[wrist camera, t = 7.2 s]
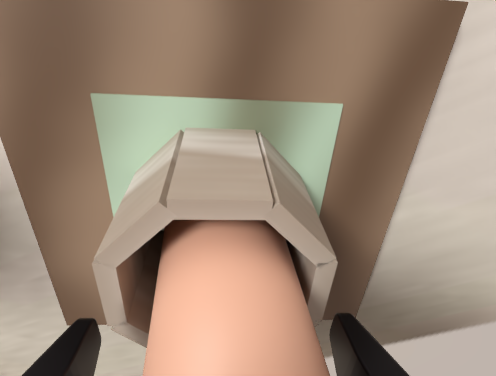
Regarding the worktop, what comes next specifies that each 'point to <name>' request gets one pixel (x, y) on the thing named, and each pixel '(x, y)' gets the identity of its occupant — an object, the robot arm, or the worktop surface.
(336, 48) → the tube board
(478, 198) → the worktop surface
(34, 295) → the worktop surface
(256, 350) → the terracotta peg
